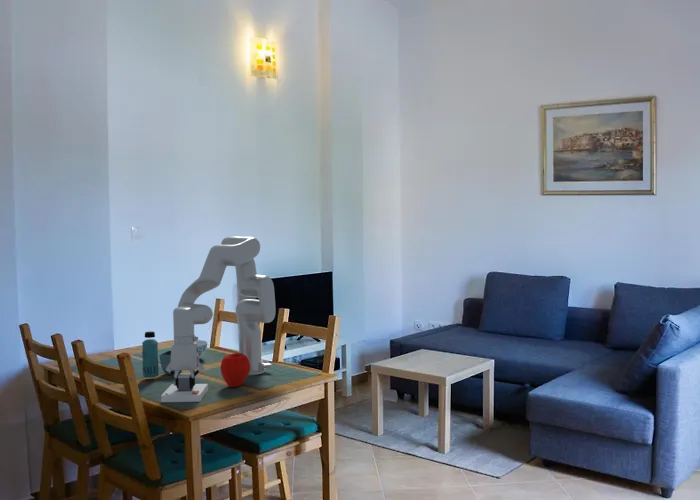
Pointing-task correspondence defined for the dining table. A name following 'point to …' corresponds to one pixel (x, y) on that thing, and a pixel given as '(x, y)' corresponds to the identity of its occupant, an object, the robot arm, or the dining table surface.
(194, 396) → the socket plate
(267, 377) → the dining table surface
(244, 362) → the apple
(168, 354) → the flower pot
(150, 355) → the beverage bottle
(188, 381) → the plug
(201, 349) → the chinaware
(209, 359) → the dining table surface
